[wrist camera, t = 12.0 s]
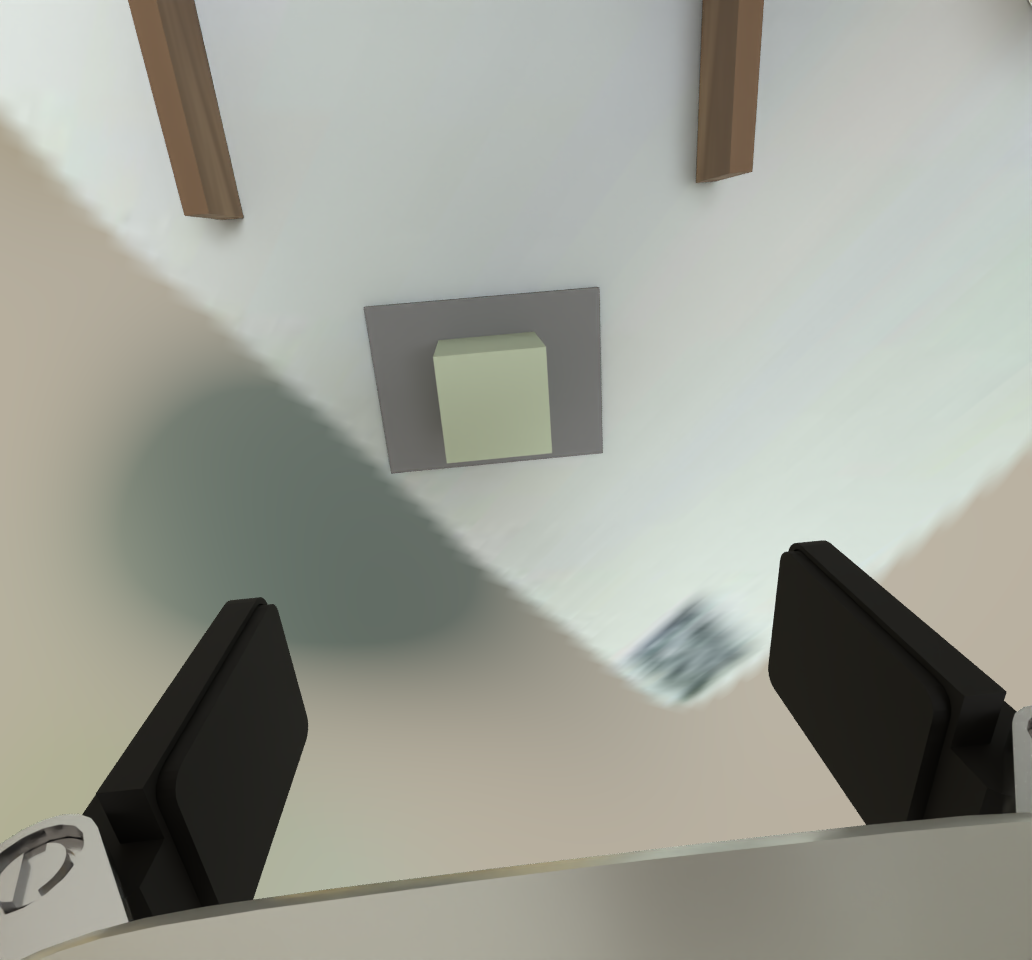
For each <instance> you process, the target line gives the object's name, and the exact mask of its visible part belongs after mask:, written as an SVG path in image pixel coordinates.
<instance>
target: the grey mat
mask: <svg viewBox="0 0 1032 960" xmlns="http://www.w3.org/2000/svg"><path fill="white" fill-rule="evenodd" d="M364 312H365V318H366V324H367V330H368V336H369V342H370V348H371V354H372V360H373V366H374V372H375V378H376V384H377V390H378V396H379V402H380V408H381V414H382V420H383V426H384V432H385V438H386V444H387V450H388V456H389V462H390V468H391V473H401V472H411V471H422V470H432V469H443V468H453V467H463V466H474V465H484V464H494V463H505V462H515V461H526V460H536V459H546V458H557V457H567V456H577V455H588V454H598V453H603V439H602V391H601V342H600V294H599V287H592V288H580V289H568V290H556V291H545V292H533V293H521V294H509V295H497V296H486V297H474V298H462V299H450V300H438V301H427V302H415V303H403V304H391V305H379V306H368V307H364ZM524 332H535V333H536V334H537V336H538V337H539V338H540V340H541V341H542V342H543V343H544V345H545V346H546V355H547V372H548V390H549V407H550V424H551V442H552V453H548V454H538V455H528V456H518V457H508V458H497V459H487V460H477V461H467V462H457V463H447V460H446V453H445V445H444V437H443V430H442V422H441V414H440V407H439V399H438V391H437V384H436V376H435V368H434V361H433V356H434V353H435V350H436V346H437V343H438V340H446V339H458V338H469V337H480V336H491V335H502V334H513V333H524Z"/></svg>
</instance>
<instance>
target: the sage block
mask: <svg viewBox="0 0 1032 960" xmlns="http://www.w3.org/2000/svg"><path fill="white" fill-rule="evenodd" d="M433 361H434V368H435V376H436V384H437V391H438V399H439V407H440V414H441V422H442V430H443V437H444V445H445V453H446V460H447V463H457V462H467V461H477V460H487V459H497V458H508V457H518V456H528V455H538V454H548V453H552V442H551V424H550V407H549V390H548V372H547V355H546V346H545V345H544V343H543V342H542V341H541V340H540V338H539V337H538V336H537V334H536V333H535V332H524V333H513V334H502V335H491V336H480V337H469V338H458V339H446V340H438V343H437V346H436V350H435V353H434V356H433Z"/></svg>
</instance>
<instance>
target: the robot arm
mask: <svg viewBox="0 0 1032 960" xmlns="http://www.w3.org/2000/svg"><path fill="white" fill-rule="evenodd" d="M768 672H769V677H770V681H771V683H772V686H773V687H774V689H775V691H776V692H777V694H778V695H779V696H780V698H781V699H782V701H783V702H784V704H785V705H786V707H787V708H788V710H789V711H790V713H791V714H792V716H793V717H794V719H795V720H796V722H797V723H798V725H799V726H800V727H801V729H802V730H803V732H804V733H805V735H806V736H807V738H808V739H809V741H810V742H811V744H812V745H813V747H814V748H815V750H816V751H817V753H818V754H819V756H820V757H821V758H822V760H823V762H824V763H825V764H826V766H827V767H828V769H829V770H830V772H831V773H832V775H833V776H834V778H835V779H836V781H837V782H838V784H839V785H840V787H841V788H842V790H843V791H844V793H845V794H846V796H847V797H848V799H849V800H850V802H851V803H852V805H853V806H854V807H855V809H856V810H857V812H858V813H859V815H860V816H861V818H862V819H863V821H864V822H865V824H866V825H863V826H854V827H845V828H837V829H827V830H818V831H810V832H801V833H793V834H783V835H774V836H765V837H756V838H748V839H740V840H730V841H721V842H712V843H704V844H695V845H686V846H678V847H670V848H661V849H652V850H644V851H635V852H628V853H619V854H610V855H602V856H593V857H585V858H577V859H569V860H560V861H553V862H544V863H535V864H527V865H518V866H510V867H502V868H494V869H486V870H477V871H469V872H462V873H454V874H445V875H438V876H430V877H422V878H414V879H407V880H398V881H390V882H382V883H374V884H366V885H358V886H350V887H342V888H334V889H326V890H319V891H311V892H304V893H297V894H291V895H284V896H276V897H269V898H262V899H256V900H253V898H254V895H255V892H256V889H257V886H258V883H259V880H260V877H261V874H262V871H263V868H264V865H265V862H266V859H267V856H268V853H269V850H270V847H271V844H272V841H273V838H274V835H275V832H276V829H277V826H278V823H279V820H280V817H281V814H282V811H283V808H284V805H285V802H286V799H287V796H288V793H289V790H290V787H291V784H292V781H293V778H294V775H295V772H296V769H297V766H298V763H299V760H300V757H301V754H302V751H303V748H304V745H305V742H306V739H307V733H308V719H307V715H306V711H305V707H304V704H303V700H302V696H301V693H300V689H299V686H298V682H297V678H296V674H295V671H294V667H293V663H292V660H291V656H290V653H289V649H288V645H287V642H286V639H285V635H284V631H283V627H282V624H281V620H280V616H279V613H278V610H277V608H276V606H275V605H274V604H270V605H267V602H266V601H265V600H264V599H263V598H261V597H259V598H249V599H239V600H231V601H228V602H227V603H226V604H225V605H224V607H223V608H222V609H221V611H220V612H219V614H218V615H217V617H216V618H215V620H214V621H213V623H212V624H211V626H210V627H209V628H208V630H207V631H206V633H205V634H204V636H203V637H202V639H201V640H200V642H199V643H198V644H197V646H196V647H195V649H194V651H193V652H192V653H191V655H190V656H189V658H188V659H187V661H186V662H185V664H184V665H183V666H182V668H181V669H180V671H179V673H178V674H177V676H176V677H175V678H174V680H173V681H172V683H171V684H170V686H169V687H168V688H167V690H166V691H165V693H164V694H163V696H162V697H161V699H160V700H159V702H158V703H157V705H156V706H155V708H154V709H153V711H152V712H151V713H150V715H149V716H148V718H147V719H146V721H145V722H144V724H143V725H142V727H141V728H140V729H139V731H138V732H137V734H136V735H135V737H134V738H133V740H132V741H131V743H130V744H129V746H128V747H127V749H126V750H125V752H124V753H123V755H122V756H121V757H120V759H119V760H118V762H117V763H116V765H115V766H114V768H113V769H112V771H111V772H110V773H109V775H108V776H107V778H106V780H105V781H104V782H103V784H102V785H101V787H100V788H99V790H98V791H97V793H96V795H95V797H94V798H93V800H92V801H91V803H90V804H89V806H88V807H87V808H86V810H85V811H84V813H83V814H82V815H80V814H67V815H66V814H65V815H59V816H56V817H52V818H49V819H45V820H42V821H40V822H38V823H36V824H33V825H31V826H29V827H27V828H25V829H23V830H21V831H19V832H18V833H16V834H15V835H13V836H12V837H10V838H8V839H7V840H5V841H4V842H2V843H1V844H0V960H1032V706H1027V707H1023V708H1022V709H1020V710H1019V711H1018V712H1016V711H1015V710H1014V709H1013V708H1012V707H1011V706H1010V705H1008V704H1007V703H1006V702H1005V701H1004V698H1005V695H1006V691H1005V690H1004V689H1003V688H1002V687H1001V686H999V685H998V684H997V683H996V682H995V681H993V680H992V679H991V678H990V677H989V676H987V675H986V674H985V673H984V672H983V671H981V670H980V669H979V668H978V667H977V666H976V665H974V664H973V663H972V662H971V661H969V660H968V659H967V658H966V657H965V656H964V655H963V654H961V653H960V652H959V651H958V650H957V649H955V648H954V647H953V646H952V645H950V644H949V643H948V642H947V641H946V640H945V639H944V638H942V637H941V636H940V635H939V634H938V633H936V632H935V631H934V630H933V629H932V628H930V627H929V626H928V625H927V624H926V623H925V622H923V621H922V620H921V619H920V618H919V617H917V616H916V615H915V614H914V613H913V612H911V611H910V610H909V609H908V608H907V607H905V606H904V605H903V604H902V603H901V602H899V601H898V600H897V599H896V598H895V597H894V596H892V595H891V594H890V593H889V592H888V591H887V590H885V589H884V588H883V587H882V586H881V585H879V584H878V583H877V582H876V581H875V580H873V579H872V578H871V577H870V576H869V575H868V574H866V573H865V572H864V571H863V570H862V569H860V568H859V567H858V566H857V565H856V564H854V563H853V562H852V561H851V560H850V559H849V558H847V557H846V556H845V555H844V554H843V553H841V552H840V551H839V550H838V549H837V548H835V547H834V546H833V545H832V544H831V543H829V542H827V541H812V542H803V543H794V544H793V545H791V547H790V548H789V552H784V553H783V554H782V556H781V559H780V567H779V576H778V584H777V593H776V602H775V611H774V620H773V629H772V638H771V647H770V656H769V665H768Z"/></svg>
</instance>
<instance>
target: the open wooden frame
mask: <svg viewBox="0 0 1032 960" xmlns="http://www.w3.org/2000/svg"><path fill="white" fill-rule="evenodd" d="M128 2H129V6H130V10H131V14H132V17H133V21H134V25H135V29H136V33H137V36H138V40H139V44H140V48H141V52H142V55H143V59H144V63H145V67H146V71H147V74H148V78H149V82H150V86H151V90H152V93H153V97H154V101H155V105H156V109H157V113H158V116H159V120H160V124H161V128H162V132H163V135H164V139H165V143H166V147H167V151H168V154H169V158H170V162H171V166H172V170H173V173H174V177H175V181H176V185H177V189H178V193H179V196H180V200H181V204H182V208H183V212H184V215H185V216H193V217H202V218H211V219H220V220H225V219H238V218H243V213H242V209H241V204H240V200H239V196H238V191H237V187H236V182H235V178H234V174H233V169H232V165H231V161H230V156H229V152H228V147H227V143H226V139H225V134H224V130H223V126H222V121H221V117H220V112H219V108H218V104H217V99H216V95H215V90H214V86H213V82H212V77H211V73H210V69H209V64H208V60H207V55H206V51H205V47H204V42H203V38H202V34H201V29H200V25H199V20H198V16H197V12H196V7H195V3H194V0H128ZM763 6H764V0H703V4H702V31H701V59H700V87H699V115H698V142H697V170H696V183H700V182H713V181H719V180H723V179H726V178H730V177H734V176H738V175H742V174H745V173H749V172H752V168H753V153H754V138H755V124H756V109H757V94H758V80H759V65H760V50H761V36H762V21H763Z"/></svg>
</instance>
